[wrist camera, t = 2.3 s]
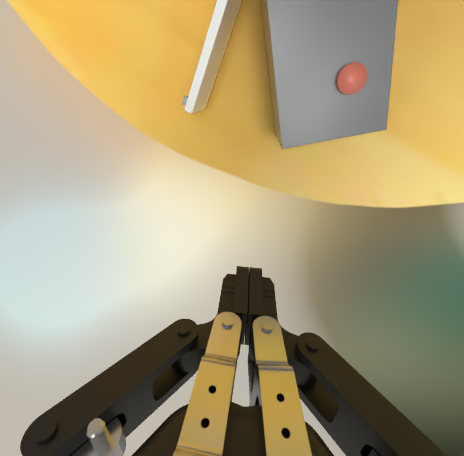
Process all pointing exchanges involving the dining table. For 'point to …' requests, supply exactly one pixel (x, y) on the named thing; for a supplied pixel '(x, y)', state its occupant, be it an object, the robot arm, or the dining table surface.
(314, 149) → the dining table surface
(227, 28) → the side door
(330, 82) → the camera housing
